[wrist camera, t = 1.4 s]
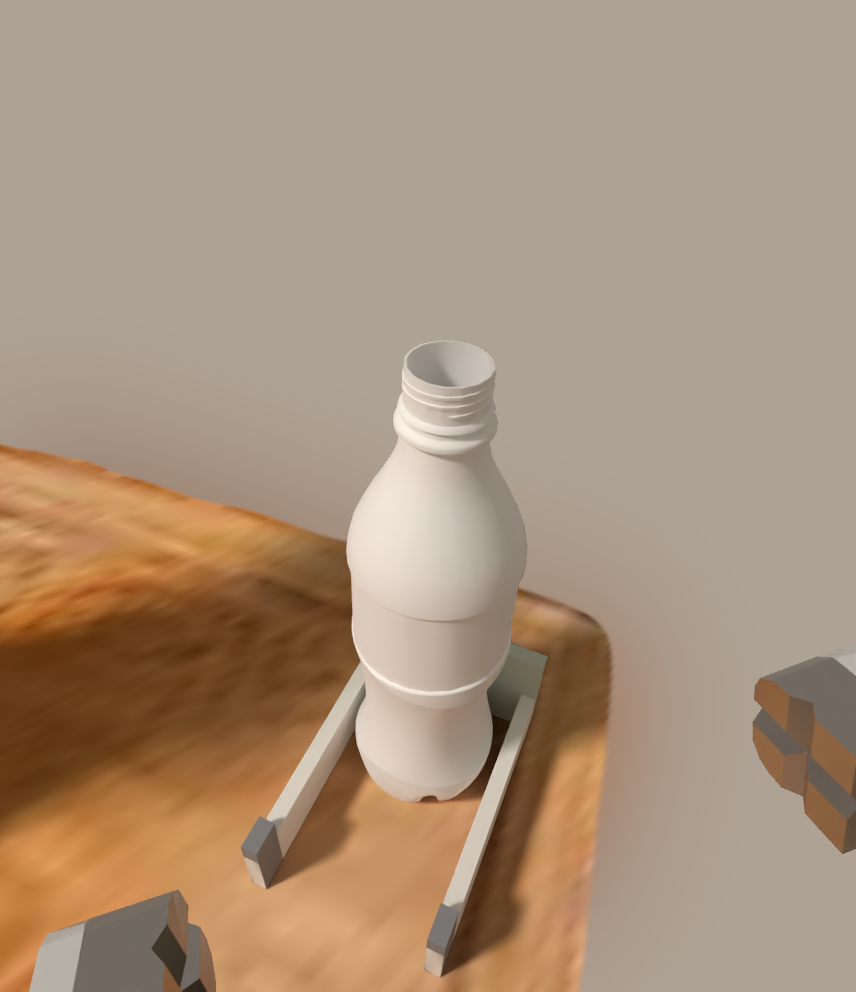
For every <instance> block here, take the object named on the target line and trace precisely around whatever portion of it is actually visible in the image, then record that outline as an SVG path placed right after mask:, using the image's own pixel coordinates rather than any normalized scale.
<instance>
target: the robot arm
mask: <svg viewBox="0 0 856 992" xmlns="http://www.w3.org/2000/svg"><path fill="white" fill-rule="evenodd" d="M754 700H755V701H756V702H757V703H758V704H759V705H760V706H761V707H762V709H761V711H760V712H759V714H758V715H757V717H756V718H755V720H754V721H753V742H754V744H755V747H756V750H757V752H758V755H759V758H760V760H761V761H762V763H763V765H764V766H765V768H766V769H767V771H768V772H769V774H770V775H771V776H772V777H773V778H774V779H775V780H776V782H777V783H778V784H779V785H780V786H781V787H782V788H784V789H787V790H789V791H792V792H794V793H796V794H799V795H801V796H803V801H804V809H805V814H806V815H807V816H808V817H809V818H810V819H811V820H812V821H813V823H815V825H816V826H817V827H818V828H819V829H820V830H821V831H822V832H823V833H824V834H825V836H826V837H827V838H828V839H829V840H830V841H831V842H832V843H833V844H834V845H835V847H836V848H837V849H838V850H839V851H840V852H841V853H842V854H843V853H846V852H849V851H852V850H854V849H856V645H855V644H854V645H851V646H848V647H845V648H842V649H839V650H837V651H834V652H831V653H828V654H826V655H823V656H821V657H815V658H813V659H810V660H807V661H804V662H802V663H799V664H797V665H794V666H791V667H789V668H786V669H783V670H781V671H778V672H775V673H773V674H770V675H767V676H765V677H762V678H760V679H759V681H758V682H757V684H756V685H755V693H754ZM29 992H216V980H215V973H214V967H213V960H212V955H211V952H210V948H209V945H208V942H207V939H206V937H205V935H204V933H203V932H202V930H201V928H200V927H199V926H196V925H193V924H190V923H188V904H187V903H186V901H185V900H184V898H183V896H182V895H181V893H180V892H179V890H176V891H172V892H169V893H166V894H163V895H160V896H157V897H154V898H151V899H148V900H145V901H142V902H139V903H136V904H133V905H130V906H127V907H124V908H121V909H118V910H115V911H112V912H109V913H106V914H103V915H100V916H97V917H94V918H91V919H88V920H86V921H83V922H80V923H77V924H74V925H71V926H68V927H65V928H63V929H60V930H57V931H54V932H51V933H48V934H47V936H46V938H45V940H44V942H43V943H42V945H41V947H40V949H39V951H38V955H37V960H36V964H35V969H34V973H33V977H32V982H31V986H30V991H29Z"/></svg>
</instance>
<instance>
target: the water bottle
mask: <svg viewBox="0 0 856 992" xmlns="http://www.w3.org/2000/svg"><path fill="white" fill-rule="evenodd" d="M495 376H496V370H495V365H494V360H493V358H492V357H491V356H490V355H489V354H488V353H487V352H486V351H484V350H482V349H480V348H478V347H476V346H474V345H472V344H468V343H464V342H459V341H445V340H444V341H443V340H442V341H441V340H438V341H433V342H428V343H423V344H421V345H419V346H417V347H415V348H413V349H411V350H410V351H409V352H408V354H407V355H406V356H405V358H404V368H403V370H402V389H403V392H402V393H401V395H400V397H399V400H398V403H397V405H398V406H397V408H396V410H395V412H394V416H393V422H394V428H395V431H396V432H397V434H398V436H399V437H398V441H397V445H396V447H395V449H394V452H393V453H392V454H391V456H390V457H389V459H388V460H387V462H386V463H385V464H384V465H383V467H382V468H381V470H380V471H379V472H378V474H377V475H376V476H375V477H374V479H373V480H372V482H371V483H370V485H369V486H368V488H367V489H366V491H365V492H364V494H363V496H362V497H361V499H360V501H359V503H358V505H357V507H356V509H355V512H354V513H353V516H352V520H351V524H350V528H349V531H348V536H347V548H346V554H347V563H348V566H349V569H350V572H351V586H352V612H353V615H352V636H353V641H354V645H355V648H356V650H357V653H358V655H359V658H360V661H361V664H362V668H363V673H364V678H365V689H366V697H365V699H364V701H363V702H362V704H361V706H360V709H359V711H358V714H357V718H356V741H357V746H358V749H359V752H360V754H361V757H362V760H363V762H364V765H365V767H366V769H367V771H368V773H369V775H370V776H371V778H372V779H373V781H374V782H375V783H376V784H377V785H378V786H379V787H380V788H381V789H382V790H383V791H385V792H386V793H388V794H389V795H390V796H392V797H394V798H396V799H398V800H400V801H403V802H414V803H415V802H418V801H420V800H421V798H422V797H425V796H430V795H431V796H436V798H437V799H438V800H439V801H441V800H449V799H451V798H453V797H455V796H457V795H458V794H459V793H461V792H462V791H463V790H464V789H466V788H467V787H468V786H469V785H470V784H471V783H472V782H473V781H474V780H475V778H476V777H477V776H478V774H479V773H480V771H481V769H482V768H483V766H484V764H485V762H486V760H487V757H488V754H489V751H490V747H491V742H492V735H493V725H492V717H491V712H490V708H489V704H488V699H487V689H488V688H489V687H490V686H491V685H492V683H493V682H494V681H495V679H496V678H497V677H498V675H499V673H500V672H501V670H502V668H503V666H504V663H505V661H506V659H507V656H508V653H509V649H510V644H511V630H510V628H511V623H512V618H513V612H514V607H515V602H516V597H517V591H518V586H519V583H520V581H521V579H522V577H523V574H524V570H525V566H526V556H527V543H526V536H525V528H524V523H523V520H522V517H521V514H520V511H519V509H518V506H517V504H516V502H515V500H514V498H513V496H512V494H511V492H510V490H509V488H508V485H507V484H506V482H505V480H504V478H503V476H502V475H501V473H500V471H499V469H498V468H497V466H496V464H495V462H494V460H493V457H492V454H491V450H490V441H491V440H492V439H493V438H494V436H495V434H496V431H497V424H498V421H497V417H496V414H495V409H496V408H495V405H494V402H493V390H494V387H495V382H494V381H495Z"/></svg>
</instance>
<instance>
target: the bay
mask: <svg viewBox="0 0 856 992" xmlns="http://www.w3.org/2000/svg"><path fill="white" fill-rule="evenodd" d="M547 657H548V656H546V655H543V654H540V653H537V652H535V651H532V650H529V649H526V648H524V647H521V646H518V645H515V644H513V643H511V644H510V649H509V653H508V656H507V659H506V661H505V663H504V666H503V668H502V670H501V672H500V673H499V675H498V677H497V678H496V679H495V681H494V682H493V683H492V685H491V686H490V687H489V688H488V689H487V699H488V704H489V708H490V712H491V714H492V715H494V716H497V717H499V718H502V719H504V720H507V721H509V722H511V723H510V726H509V729H508V731H507V734H506V737H505V739H504V742H503V745H502V747H501V750H500V753H499V755H498V758H497V761H496V763H495V766H494V769H493V771H492V774H491V777H490V779H489V782H488V785H487V787H486V790H485V793H484V795H483V798H482V801H481V803H480V806H479V809H478V811H477V814H476V817H475V819H474V822H473V825H472V827H471V830H470V833H469V835H468V838H467V841H466V843H465V846H464V849H463V851H462V854H461V857H460V859H459V862H458V865H457V867H456V870H455V873H454V875H453V878H452V881H451V883H450V886H449V889H448V891H447V894H446V897H445V899H444V902H443V904H442V903H441V905H440V908H439V910H438V913H437V916H436V918H435V921H434V923H433V926H432V929H431V931H430V934H429V937H428V939H427V947H426V955H425V964H424V969H425V970H427V971H429V972H431V973H433V974H434V975H436V976H438V977H441V974H442V971H443V969H444V966H445V963H446V960H447V957H448V954H449V952H450V949H451V946H452V943H453V940H454V937H455V935H456V932H457V929H458V926H459V923H460V920H461V917H462V915H463V912H464V909H465V906H466V903H467V900H468V898H469V895H470V892H471V889H472V886H473V883H474V881H475V878H476V875H477V872H478V869H479V866H480V864H481V861H482V858H483V855H484V852H485V849H486V846H487V844H488V841H489V838H490V835H491V832H492V829H493V827H494V824H495V821H496V818H497V815H498V812H499V810H500V807H501V804H502V801H503V798H504V795H505V793H506V790H507V787H508V784H509V781H510V778H511V776H512V773H513V770H514V767H515V764H516V761H517V758H518V756H519V753H520V750H521V747H522V744H523V741H524V739H525V736H526V733H527V730H528V727H529V724H530V722H531V719H532V715H533V711H534V708H535V704H536V700H537V696H538V692H539V688H540V684H541V680H542V676H543V672H544V669H545V665H546V661H547ZM365 697H366V689H365V678H364V673H363V668H362V664H361V661H360V663H359V665H358V666H357V668H356V670H355V671H354V673H353V675H352V676H351V678H350V680H349V681H348V683H347V685H346V686H345V688H344V690H343V691H342V693H341V695H340V696H339V698H338V700H337V702H336V703H335V705H334V707H333V708H332V710H331V712H330V713H329V715H328V717H327V718H326V720H325V722H324V723H323V725H322V727H321V728H320V730H319V732H318V733H317V735H316V737H315V738H314V740H313V742H312V743H311V745H310V747H309V748H308V750H307V752H306V753H305V755H304V757H303V758H302V760H301V762H300V763H299V765H298V767H297V768H296V770H295V772H294V773H293V775H292V777H291V778H290V780H289V782H288V783H287V785H286V787H285V788H284V790H283V792H282V793H281V795H280V797H279V798H278V800H277V802H276V803H275V805H274V807H273V809H272V810H271V812H270V814H269V815H268V817H267V819H264V818H262V817H259V818H258V820H257V821H256V823H255V825H254V826H253V828H252V830H251V831H250V833H249V835H248V836H247V838H246V840H245V841H244V843H243V845H242V846H241V850H242V853H243V856H244V859H245V862H246V865H247V868H248V871H249V874H250V877H251V880H252V882H253V883H255V884H257V885H259V886H261V887H263V888H265V889H267V887H268V885H269V883H270V882H271V880H272V878H273V876H274V874H275V873H276V871H277V869H278V867H279V865H280V864H281V862H282V860H283V858H284V856H285V855H286V853H287V851H288V849H289V847H290V846H291V844H292V842H293V840H294V839H295V837H296V835H297V833H298V831H299V830H300V828H301V826H302V824H303V822H304V821H305V819H306V817H307V815H308V813H309V812H310V810H311V808H312V806H313V804H314V803H315V801H316V799H317V797H318V795H319V794H320V792H321V790H322V788H323V786H324V785H325V783H326V781H327V779H328V777H329V776H330V774H331V772H332V770H333V768H334V767H335V765H336V763H337V761H338V759H339V758H340V756H341V754H342V752H343V750H344V749H345V747H346V745H347V743H348V741H349V740H350V738H351V736H352V734H353V732H354V731H355V729H356V718H357V714H358V711H359V709H360V706H361V704H362V702H363V701H364V699H365Z"/></svg>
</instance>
